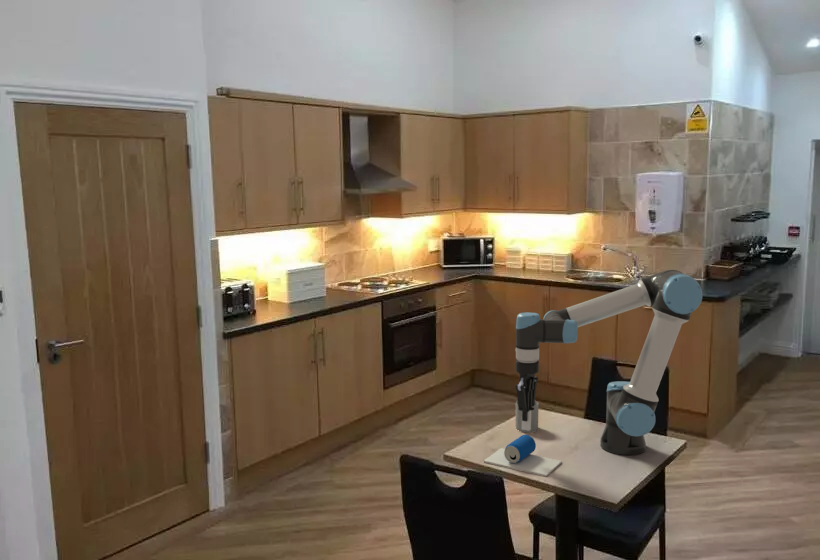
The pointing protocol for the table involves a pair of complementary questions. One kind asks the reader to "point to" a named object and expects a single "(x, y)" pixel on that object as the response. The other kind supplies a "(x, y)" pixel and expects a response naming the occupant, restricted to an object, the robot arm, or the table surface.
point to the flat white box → (525, 463)
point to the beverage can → (519, 448)
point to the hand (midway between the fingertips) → (526, 429)
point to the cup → (533, 418)
